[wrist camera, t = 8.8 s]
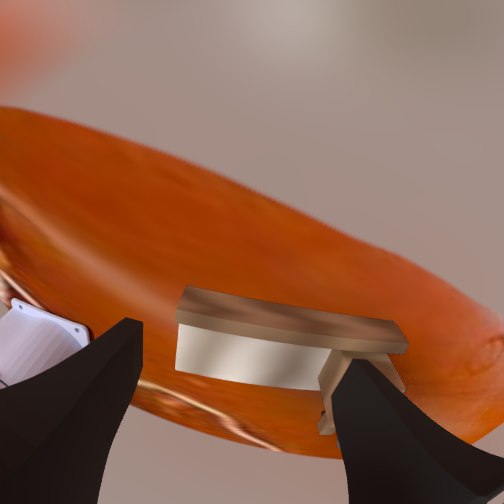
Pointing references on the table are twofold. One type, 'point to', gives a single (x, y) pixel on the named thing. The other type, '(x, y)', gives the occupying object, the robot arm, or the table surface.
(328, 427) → the block
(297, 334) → the board
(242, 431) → the table surface
